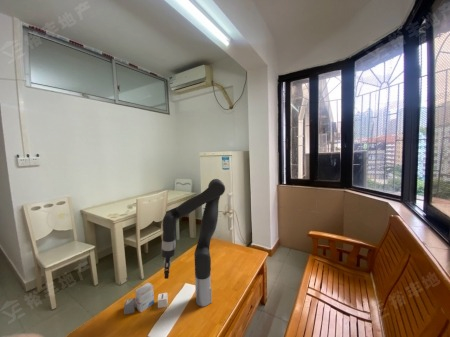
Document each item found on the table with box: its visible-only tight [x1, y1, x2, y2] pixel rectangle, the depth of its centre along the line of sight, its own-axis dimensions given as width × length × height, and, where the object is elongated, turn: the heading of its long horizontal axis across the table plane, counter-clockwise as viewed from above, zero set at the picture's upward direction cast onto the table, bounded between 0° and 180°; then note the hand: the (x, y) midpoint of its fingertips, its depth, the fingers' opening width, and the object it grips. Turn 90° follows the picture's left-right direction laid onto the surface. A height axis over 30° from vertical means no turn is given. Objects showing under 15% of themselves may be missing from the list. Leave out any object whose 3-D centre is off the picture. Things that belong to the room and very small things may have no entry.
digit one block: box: [157, 292, 169, 309], centre depth 112 cm, size 5×5×5 cm
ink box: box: [134, 282, 155, 313], centre depth 111 cm, size 9×5×12 cm, turn 141°
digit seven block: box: [123, 297, 137, 315], centre depth 108 cm, size 5×5×5 cm
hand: (167, 273), depth 109 cm, fingers open, 8 cm apart
